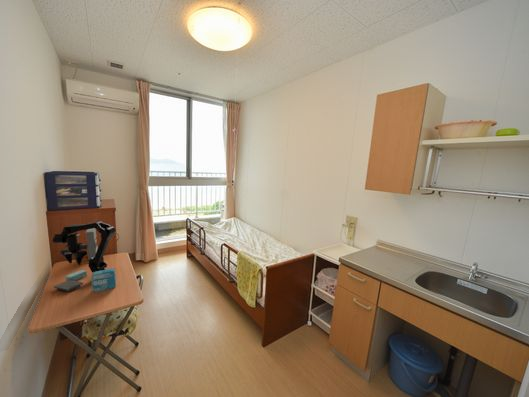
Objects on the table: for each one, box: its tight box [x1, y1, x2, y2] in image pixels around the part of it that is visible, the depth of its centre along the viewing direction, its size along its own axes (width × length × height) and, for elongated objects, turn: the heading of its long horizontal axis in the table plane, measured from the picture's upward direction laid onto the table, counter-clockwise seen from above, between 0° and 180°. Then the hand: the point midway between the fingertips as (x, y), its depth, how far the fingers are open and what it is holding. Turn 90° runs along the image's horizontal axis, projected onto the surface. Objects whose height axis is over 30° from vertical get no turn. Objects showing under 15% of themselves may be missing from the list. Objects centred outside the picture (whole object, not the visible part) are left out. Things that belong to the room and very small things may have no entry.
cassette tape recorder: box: [85, 228, 99, 261], centre depth 189 cm, size 14×6×25 cm, turn 32°
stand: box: [53, 280, 84, 293], centre depth 142 cm, size 13×9×2 cm
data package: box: [90, 268, 117, 293], centre depth 141 cm, size 12×4×12 cm, turn 121°
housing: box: [65, 269, 88, 281], centre depth 154 cm, size 5×10×4 cm, turn 157°
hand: (75, 263), depth 153 cm, fingers open, 9 cm apart
